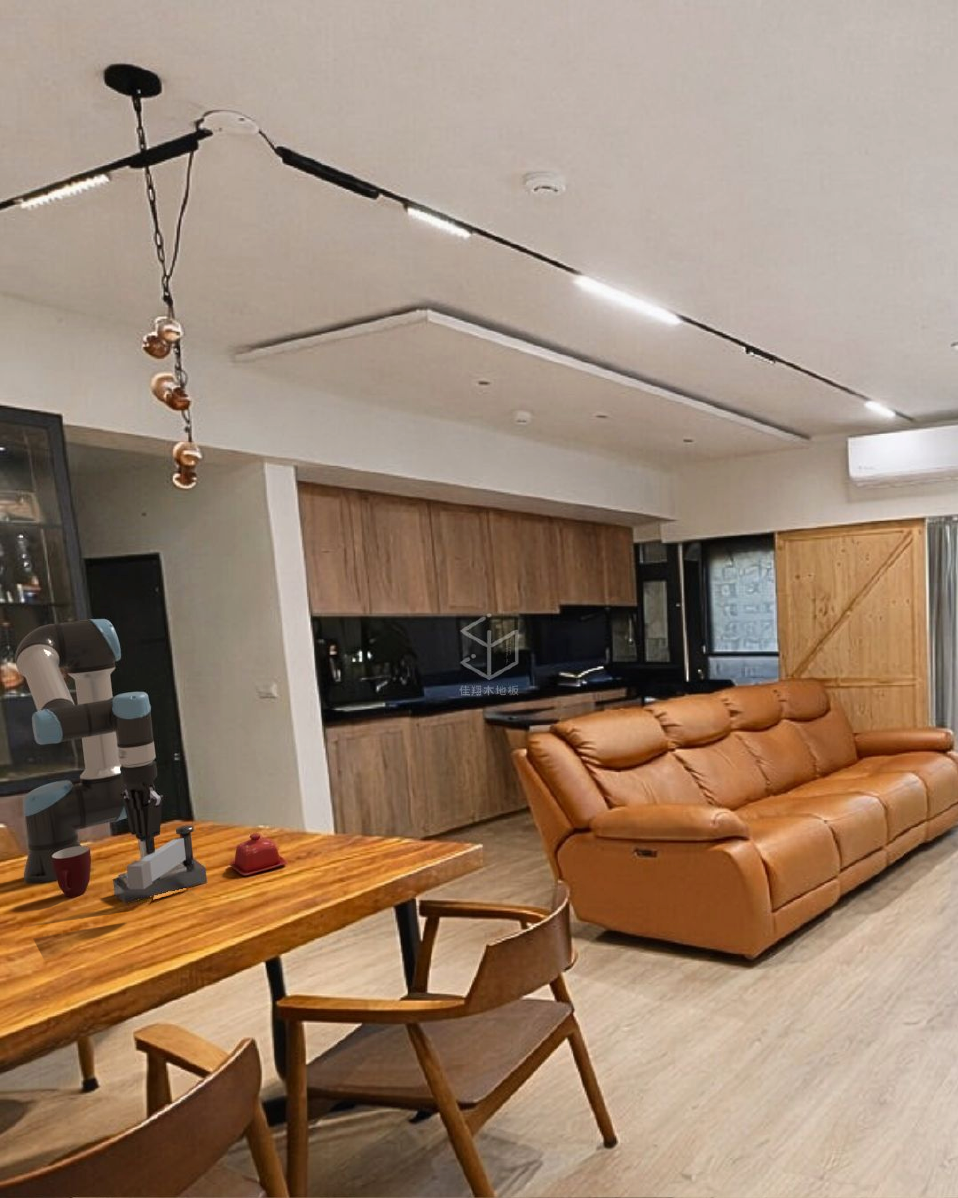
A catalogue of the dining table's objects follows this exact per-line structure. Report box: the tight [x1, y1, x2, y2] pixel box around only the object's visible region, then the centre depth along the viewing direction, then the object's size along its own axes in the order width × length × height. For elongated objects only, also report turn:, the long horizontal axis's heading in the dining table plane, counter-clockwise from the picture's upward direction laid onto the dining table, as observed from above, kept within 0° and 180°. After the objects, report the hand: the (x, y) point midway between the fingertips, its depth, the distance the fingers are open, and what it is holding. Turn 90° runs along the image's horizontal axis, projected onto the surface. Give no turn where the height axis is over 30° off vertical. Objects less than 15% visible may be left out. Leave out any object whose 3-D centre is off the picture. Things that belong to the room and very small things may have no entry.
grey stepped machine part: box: [112, 825, 208, 904], centre depth 197 cm, size 10×18×12 cm, turn 126°
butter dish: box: [228, 832, 288, 877], centre depth 207 cm, size 12×12×8 cm
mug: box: [52, 845, 92, 898], centre depth 198 cm, size 11×8×10 cm
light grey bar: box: [126, 837, 186, 889], centre depth 191 cm, size 17×4×5 cm, turn 167°
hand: (149, 866), depth 191 cm, fingers closed
